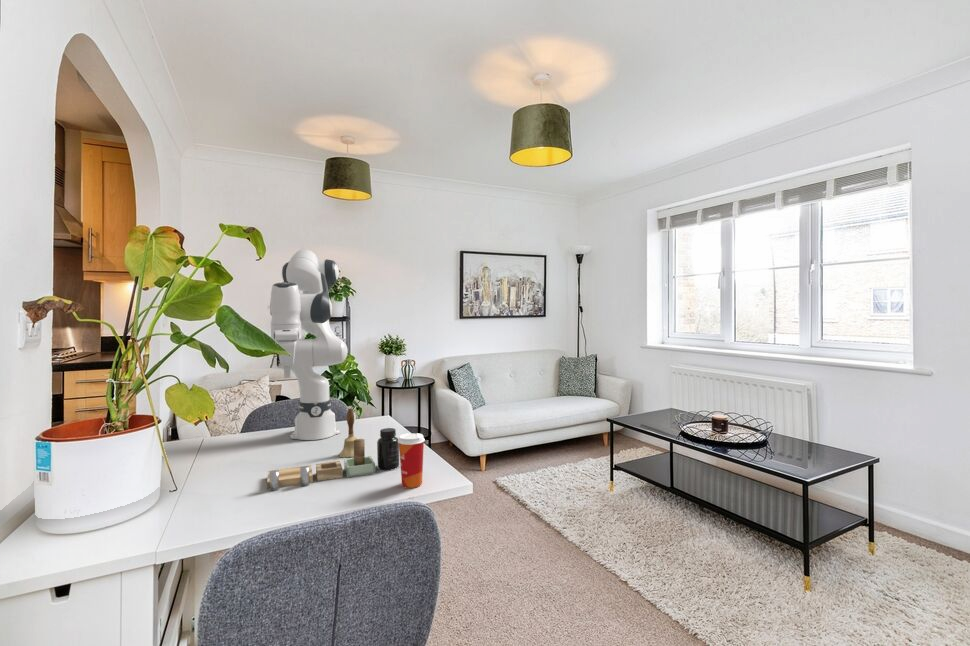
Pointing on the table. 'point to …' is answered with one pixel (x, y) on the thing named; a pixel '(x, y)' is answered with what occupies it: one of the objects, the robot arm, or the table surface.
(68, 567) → the table surface
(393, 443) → the supplement bottle
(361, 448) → the dowel
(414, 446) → the paper cup
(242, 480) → the table surface
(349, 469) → the tray
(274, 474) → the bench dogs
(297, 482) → the curved tan panel
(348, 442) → the hand bell
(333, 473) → the socket block
